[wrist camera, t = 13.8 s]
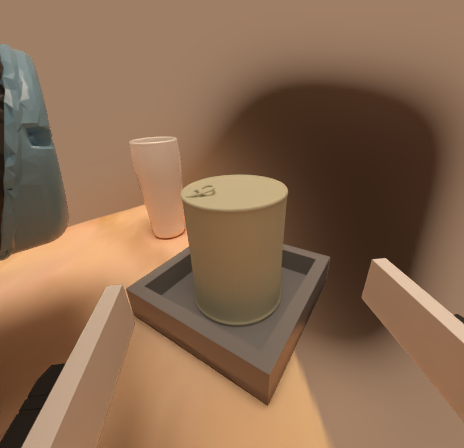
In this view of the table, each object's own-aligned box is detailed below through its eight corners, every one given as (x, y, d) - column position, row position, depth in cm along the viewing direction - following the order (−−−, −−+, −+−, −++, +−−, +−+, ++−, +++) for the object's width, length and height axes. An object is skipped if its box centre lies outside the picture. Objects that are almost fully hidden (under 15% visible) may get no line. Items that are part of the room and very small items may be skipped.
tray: (134, 315, 24) (126, 288, 23) (221, 246, 36) (219, 226, 34) (268, 405, 17) (269, 375, 15) (325, 281, 28) (330, 257, 26)
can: (187, 276, 28) (172, 176, 23) (258, 258, 31) (259, 165, 25) (206, 340, 20) (190, 212, 15) (299, 309, 23) (313, 190, 18)
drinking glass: (147, 245, 37) (124, 144, 30) (150, 226, 43) (131, 138, 36) (191, 238, 38) (178, 140, 31) (188, 221, 44) (176, 135, 37)
